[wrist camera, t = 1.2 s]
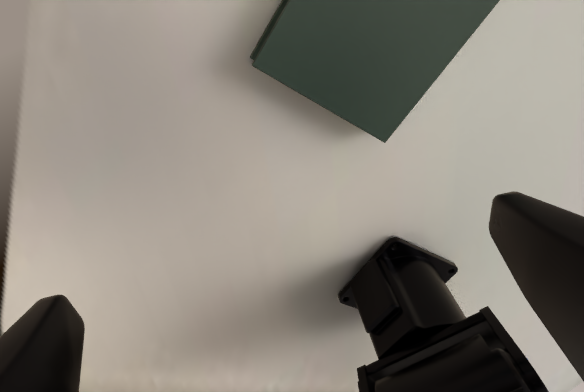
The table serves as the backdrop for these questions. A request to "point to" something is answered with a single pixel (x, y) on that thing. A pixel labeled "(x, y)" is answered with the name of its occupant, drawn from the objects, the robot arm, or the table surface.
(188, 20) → the table surface
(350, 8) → the notebook
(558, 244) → the robot arm
